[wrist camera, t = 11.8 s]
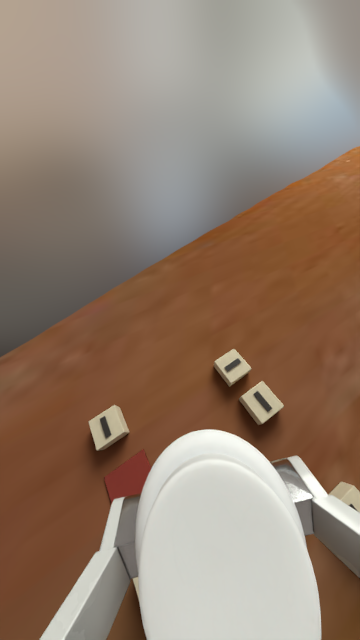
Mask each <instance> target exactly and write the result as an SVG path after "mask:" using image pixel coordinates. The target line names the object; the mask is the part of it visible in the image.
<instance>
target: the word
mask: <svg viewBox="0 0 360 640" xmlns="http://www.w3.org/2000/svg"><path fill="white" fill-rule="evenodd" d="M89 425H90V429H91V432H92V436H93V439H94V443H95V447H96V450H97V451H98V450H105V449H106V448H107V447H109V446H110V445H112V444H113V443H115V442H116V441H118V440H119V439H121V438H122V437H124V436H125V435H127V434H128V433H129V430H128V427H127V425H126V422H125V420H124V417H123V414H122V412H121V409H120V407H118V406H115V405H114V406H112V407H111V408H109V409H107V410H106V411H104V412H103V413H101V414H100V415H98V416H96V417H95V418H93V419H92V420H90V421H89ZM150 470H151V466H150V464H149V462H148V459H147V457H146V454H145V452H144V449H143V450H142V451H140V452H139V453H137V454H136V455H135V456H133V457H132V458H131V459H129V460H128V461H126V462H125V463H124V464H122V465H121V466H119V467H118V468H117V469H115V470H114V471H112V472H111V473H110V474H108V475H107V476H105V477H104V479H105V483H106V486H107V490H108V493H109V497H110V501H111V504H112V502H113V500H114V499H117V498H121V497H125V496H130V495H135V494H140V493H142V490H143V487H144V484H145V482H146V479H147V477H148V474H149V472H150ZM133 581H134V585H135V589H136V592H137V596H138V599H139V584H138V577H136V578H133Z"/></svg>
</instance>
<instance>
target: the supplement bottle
mask: <svg viewBox="0 0 360 640" xmlns="http://www.w3.org/2000/svg"><path fill="white" fill-rule="evenodd" d="M135 550H136V561H137V568H138V584H139V603H140V610H141V616H142V622H143V627H144V631H145V635H146V639H147V640H321V613H320V603H319V594H318V589H317V583H316V578H315V575H314V571H313V567H312V563H311V560H310V557H309V554H308V551H307V546H306V541H305V536H304V532H303V528H302V524H301V521H300V518H299V515H298V512H297V509H296V506H295V504H294V501H293V499H292V497H291V495H290V493H289V491H288V489H287V487H286V485H285V484H284V482H283V480H282V479H281V477H280V475H279V474H278V472H277V471H276V470H275V468H274V467H273V466H272V464H271V463H270V462H269V461H268V460H267V459H266V458H265V457H264V456H263V455H262V454H261V453H260V452H259V451H258V450H257V449H256V448H255V447H253V446H252V445H251V444H249V443H248V442H246V441H245V440H243V439H241V438H240V437H238V436H235V435H233V434H230V433H228V432H224V431H219V430H199V431H194V432H191V433H188V434H186V435H184V436H182V437H180V438H178V439H177V440H176V441H174V442H173V443H172V444H170V445H169V446H168V447H167V448H166V449H165V450H164V451H163V452H162V454H161V455H160V456H159V457H158V459H157V460H156V462H155V463H154V465H153V467H152V468H151V470H150V472H149V474H148V477H147V479H146V482H145V484H144V487H143V490H142V493H141V497H140V501H139V505H138V511H137V519H136V532H135Z"/></svg>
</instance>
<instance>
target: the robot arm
mask: <svg viewBox="0 0 360 640" xmlns="http://www.w3.org/2000/svg"><path fill="white" fill-rule="evenodd" d="M270 463H271V464H272V466H273V467H274V468H275V470H276V471H277V472H278V474H279V475H280V477H281V479H282V480H283V482H284V484H285V485H286V487H287V489H288V491H289V493H290V495H291V497H292V499H293V501H294V504H295V506H296V509H297V512H298V515H299V518H300V521H301V524H302V528H303V532H304V536H305V535H310V534H314V535H315V536H316V537H317V538H318V539H319V540H320V541H321V542H322V543H323V544H324V545H325V546H326V547H327V548H328V549H329V550H330V551H331V552H333V553H334V554H335V555H336V556H337V557H338V558H339V559H340V560H341V561H342V562H343V563H344V564H345V565H346V566H347V567H348V568H349V569H350V570H351V571H352V572H354V573H355V574H356V575H357V576H358V577H359V578H360V513H359V512H358V511H356V510H355V509H353V508H352V507H350V506H348V505H347V504H345V503H344V502H342V501H341V500H339V499H338V498H336V497H335V496H333V495H328V494H327V493H326V492H325V490H324V489H323V488H322V486H321V485H320V484H319V482H318V481H317V480H316V478H315V477H314V476H313V474H312V473H311V472H310V470H309V469H308V468H307V466H306V465H305V464H304V462H303V461H302V460H301V459H300V457H298V456H293V457H289V458H283V459H279V460H275V461H272V462H270ZM140 497H141V493H140V494H135V495H130V496H125V497H121V498H117V499H114V500H113V502H112V504H111V508H110V512H109V516H108V520H107V524H106V528H105V531H104V535H103V539H102V543H101V547H100V551H98V552H96V553H95V554H94V556H93V557H92V559H91V560H90V562H89V564H88V565H87V567H86V568H85V570H84V571H83V573H82V574H81V576H80V578H79V579H78V581H77V582H76V584H75V585H74V587H73V588H72V590H71V591H70V593H69V595H68V596H67V598H66V599H65V601H64V602H63V604H62V605H61V607H60V609H59V610H58V612H57V613H56V615H55V616H54V618H53V619H52V621H51V622H50V624H49V626H48V627H47V629H46V630H45V632H44V633H43V635H42V636H41V638H40V640H106V639H107V637H108V634H109V632H110V629H111V627H112V625H113V622H114V620H115V617H116V615H117V613H118V610H119V608H120V605H121V603H122V601H123V598H124V596H125V593H126V591H127V589H128V586H129V584H130V579H133V578H136V577H138V568H137V561H136V550H135V532H136V519H137V511H138V505H139V501H140Z"/></svg>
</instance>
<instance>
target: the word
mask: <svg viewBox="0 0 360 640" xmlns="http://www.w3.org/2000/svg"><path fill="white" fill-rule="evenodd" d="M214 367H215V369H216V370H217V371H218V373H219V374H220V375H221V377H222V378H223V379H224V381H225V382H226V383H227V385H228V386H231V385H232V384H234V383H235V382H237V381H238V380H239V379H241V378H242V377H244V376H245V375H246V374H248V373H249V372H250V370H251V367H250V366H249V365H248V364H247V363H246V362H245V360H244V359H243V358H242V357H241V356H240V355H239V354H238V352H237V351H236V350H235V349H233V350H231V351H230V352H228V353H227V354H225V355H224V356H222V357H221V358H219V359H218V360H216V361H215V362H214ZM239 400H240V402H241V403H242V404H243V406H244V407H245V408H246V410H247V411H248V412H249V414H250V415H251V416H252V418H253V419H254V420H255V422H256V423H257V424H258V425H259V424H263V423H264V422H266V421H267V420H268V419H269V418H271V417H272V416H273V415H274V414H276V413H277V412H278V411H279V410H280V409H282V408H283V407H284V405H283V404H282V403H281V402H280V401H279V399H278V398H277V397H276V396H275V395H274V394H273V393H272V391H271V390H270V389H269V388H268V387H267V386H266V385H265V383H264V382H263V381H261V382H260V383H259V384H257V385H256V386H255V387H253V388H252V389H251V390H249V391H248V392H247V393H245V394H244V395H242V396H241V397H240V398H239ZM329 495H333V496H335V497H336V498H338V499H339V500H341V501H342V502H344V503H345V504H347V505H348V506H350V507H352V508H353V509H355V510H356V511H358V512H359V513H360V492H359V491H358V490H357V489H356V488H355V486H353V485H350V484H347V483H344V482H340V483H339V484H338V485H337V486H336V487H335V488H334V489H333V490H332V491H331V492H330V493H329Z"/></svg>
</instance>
